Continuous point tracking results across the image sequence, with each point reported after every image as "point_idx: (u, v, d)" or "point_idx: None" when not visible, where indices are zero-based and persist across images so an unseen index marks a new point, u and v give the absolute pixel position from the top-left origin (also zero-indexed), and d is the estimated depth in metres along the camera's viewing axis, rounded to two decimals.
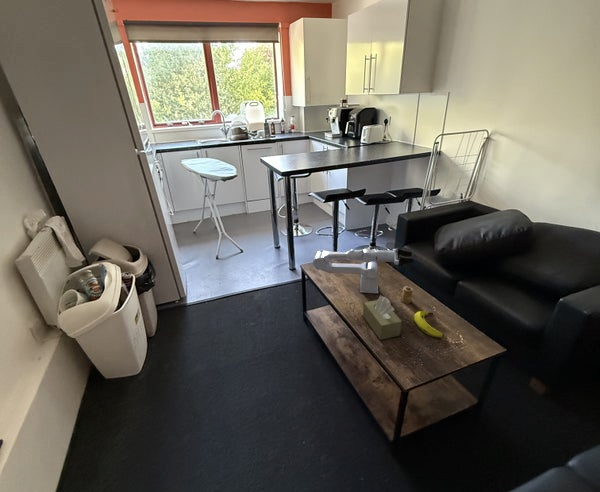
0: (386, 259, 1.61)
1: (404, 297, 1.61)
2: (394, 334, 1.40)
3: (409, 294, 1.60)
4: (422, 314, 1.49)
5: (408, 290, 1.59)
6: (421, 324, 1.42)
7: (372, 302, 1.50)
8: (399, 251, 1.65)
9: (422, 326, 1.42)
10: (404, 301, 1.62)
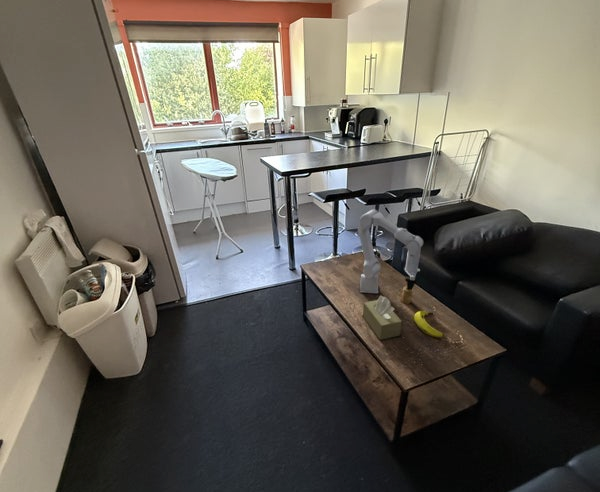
0: (411, 265, 1.51)
1: (404, 297, 1.61)
2: (394, 334, 1.40)
3: (409, 294, 1.60)
4: (422, 314, 1.49)
5: (408, 290, 1.59)
6: (421, 324, 1.42)
7: (372, 302, 1.50)
8: None
9: (422, 326, 1.42)
10: (404, 301, 1.62)
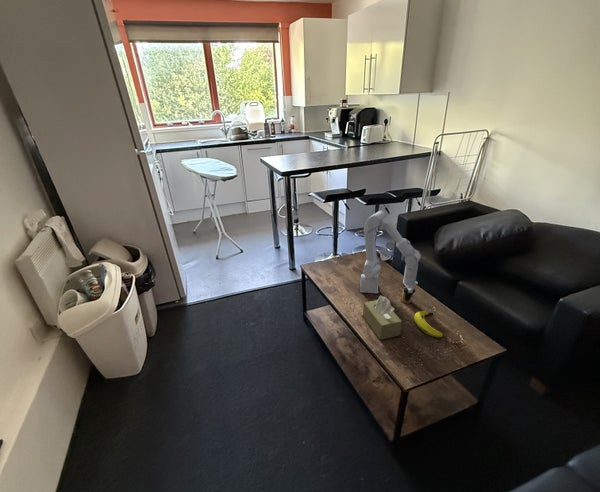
0: (409, 278, 1.55)
1: (404, 297, 1.62)
2: (394, 334, 1.40)
3: None
4: (422, 314, 1.49)
5: None
6: (421, 324, 1.42)
7: (372, 302, 1.50)
8: None
9: (422, 326, 1.42)
10: (404, 301, 1.62)
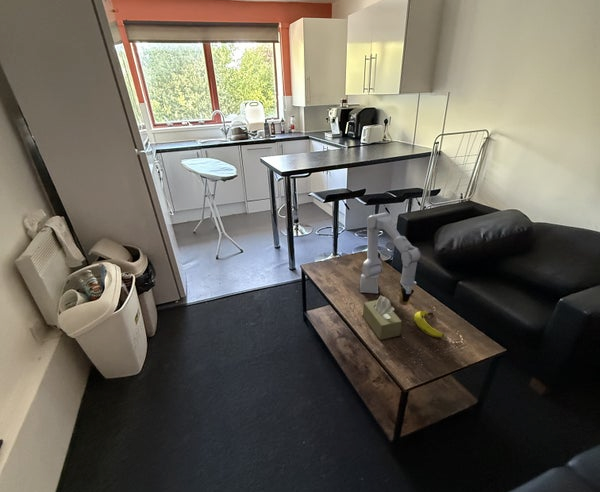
0: (407, 277, 1.42)
1: (402, 298, 1.49)
2: (394, 334, 1.40)
3: None
4: (422, 314, 1.49)
5: None
6: (421, 324, 1.42)
7: (372, 302, 1.50)
8: None
9: (422, 326, 1.42)
10: (402, 303, 1.50)
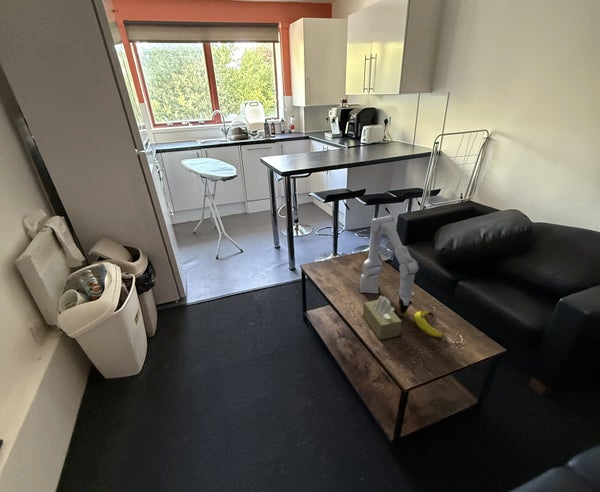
0: (405, 289, 1.43)
1: (400, 309, 1.50)
2: (394, 334, 1.40)
3: None
4: (422, 314, 1.49)
5: None
6: (421, 324, 1.42)
7: (372, 302, 1.50)
8: None
9: (422, 326, 1.42)
10: (400, 313, 1.51)
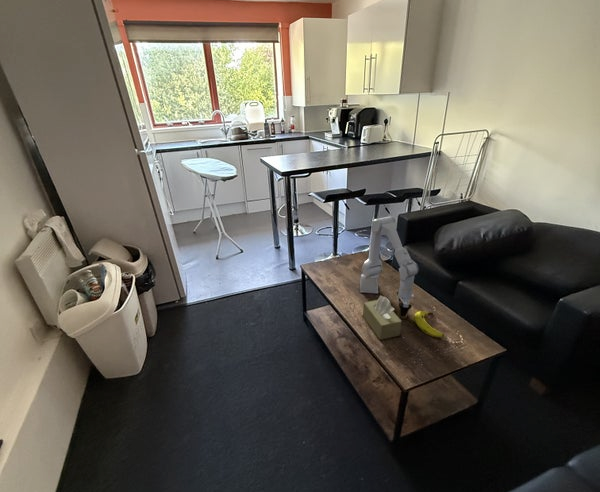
0: (405, 291, 1.44)
1: (399, 312, 1.51)
2: (394, 334, 1.40)
3: None
4: (422, 314, 1.49)
5: None
6: (421, 324, 1.42)
7: (372, 302, 1.50)
8: None
9: (422, 326, 1.42)
10: (399, 316, 1.52)
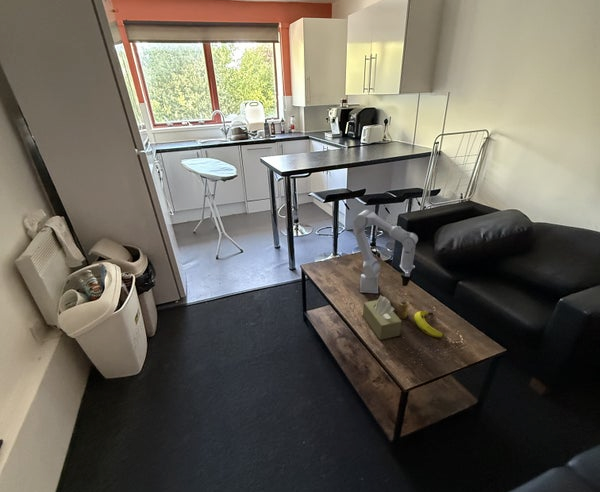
0: (406, 261, 1.53)
1: (399, 312, 1.51)
2: (394, 334, 1.40)
3: (405, 309, 1.49)
4: (422, 314, 1.49)
5: (404, 304, 1.49)
6: (421, 324, 1.42)
7: (372, 302, 1.50)
8: None
9: (422, 326, 1.42)
10: (399, 316, 1.52)
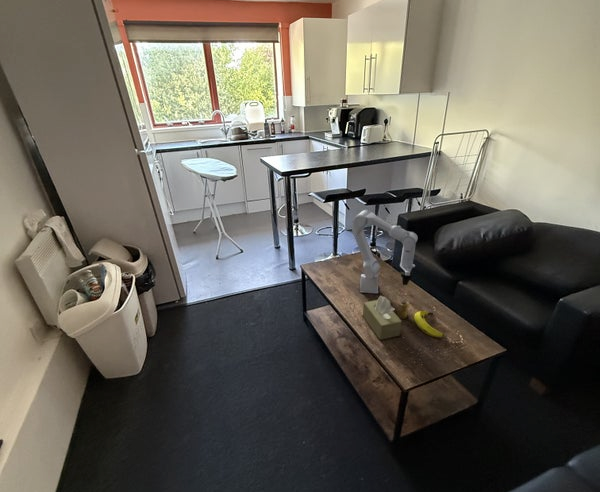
0: (406, 260, 1.53)
1: (399, 312, 1.51)
2: (394, 334, 1.40)
3: (405, 309, 1.49)
4: (422, 314, 1.49)
5: (404, 304, 1.49)
6: (421, 324, 1.42)
7: (372, 302, 1.50)
8: None
9: (422, 326, 1.42)
10: (399, 316, 1.52)
